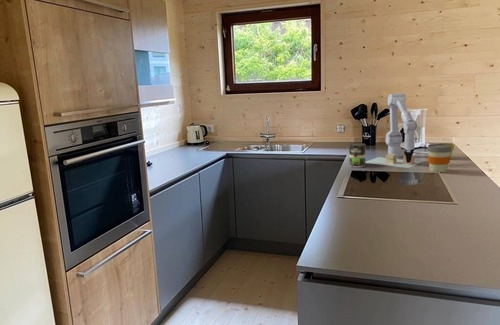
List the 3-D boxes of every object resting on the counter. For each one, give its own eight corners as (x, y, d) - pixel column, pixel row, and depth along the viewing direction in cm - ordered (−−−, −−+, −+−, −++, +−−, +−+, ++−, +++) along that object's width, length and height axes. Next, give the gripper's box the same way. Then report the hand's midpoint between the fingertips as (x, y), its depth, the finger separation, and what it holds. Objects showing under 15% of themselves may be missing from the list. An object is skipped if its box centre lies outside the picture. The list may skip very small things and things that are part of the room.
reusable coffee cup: (453, 173, 216) (454, 147, 212) (429, 173, 218) (430, 148, 215) (446, 168, 228) (448, 143, 224) (424, 168, 230) (425, 144, 227)
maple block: (389, 161, 251) (389, 154, 250) (396, 162, 247) (396, 154, 246) (385, 162, 248) (385, 155, 247) (392, 163, 244) (393, 156, 243)
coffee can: (363, 167, 241) (363, 145, 238) (347, 166, 246) (347, 145, 243) (367, 164, 250) (367, 143, 247) (351, 163, 254) (351, 142, 251)
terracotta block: (406, 162, 246) (406, 154, 245) (414, 163, 243) (414, 155, 242) (403, 163, 243) (403, 155, 242) (411, 164, 240) (411, 156, 239)
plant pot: (449, 156, 257) (450, 142, 255) (456, 160, 247) (456, 145, 245) (433, 157, 258) (434, 143, 256) (439, 160, 248) (440, 145, 246)
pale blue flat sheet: (378, 157, 266) (378, 157, 266) (421, 162, 245) (422, 161, 245) (363, 163, 253) (363, 162, 253) (408, 168, 232) (408, 167, 231)
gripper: (403, 138, 248) (403, 158, 251) (401, 142, 235) (401, 163, 238) (415, 138, 245) (414, 159, 248) (414, 142, 232) (413, 163, 235)
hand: (408, 161), depth 243 cm, fingers open, 7 cm apart
